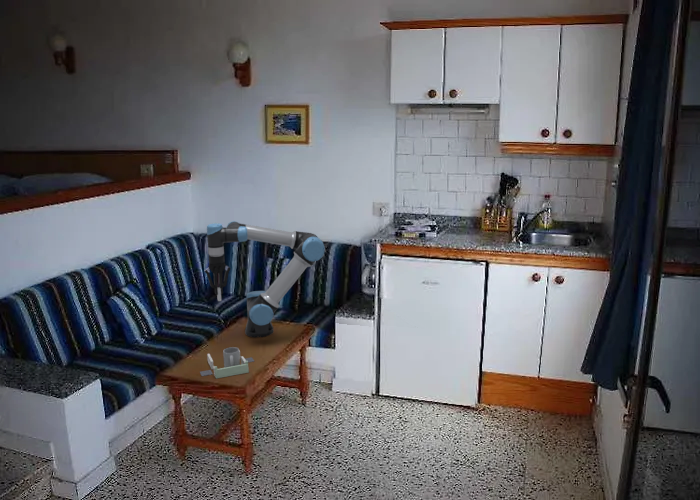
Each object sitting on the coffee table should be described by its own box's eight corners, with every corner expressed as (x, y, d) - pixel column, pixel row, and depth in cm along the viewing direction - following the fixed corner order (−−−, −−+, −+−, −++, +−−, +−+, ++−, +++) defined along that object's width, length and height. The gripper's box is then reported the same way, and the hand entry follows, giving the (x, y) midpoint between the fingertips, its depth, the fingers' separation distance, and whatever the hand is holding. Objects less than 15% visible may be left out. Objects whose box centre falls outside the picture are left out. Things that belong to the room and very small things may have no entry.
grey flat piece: (249, 354, 291) (249, 344, 290) (260, 370, 273) (259, 359, 272) (196, 363, 281) (195, 353, 280) (203, 380, 263) (202, 370, 262)
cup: (239, 364, 280) (238, 346, 278) (240, 372, 270) (239, 354, 268) (224, 365, 279) (223, 348, 277) (224, 374, 269) (223, 356, 267)
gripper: (227, 252, 298) (230, 296, 303) (201, 254, 293) (205, 300, 298) (231, 255, 291) (233, 300, 296) (204, 257, 286) (207, 304, 291)
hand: (219, 300), depth 297 cm, fingers closed
